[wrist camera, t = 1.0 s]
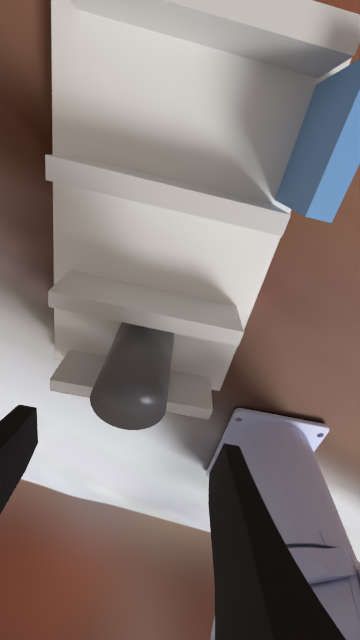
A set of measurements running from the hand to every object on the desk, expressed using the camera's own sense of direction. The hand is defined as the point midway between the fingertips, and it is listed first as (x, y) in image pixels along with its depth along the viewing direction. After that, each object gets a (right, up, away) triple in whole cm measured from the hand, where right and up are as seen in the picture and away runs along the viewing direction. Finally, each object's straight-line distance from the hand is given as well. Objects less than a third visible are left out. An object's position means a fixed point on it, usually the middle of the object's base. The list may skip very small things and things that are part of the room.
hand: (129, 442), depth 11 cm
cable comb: (+1, +9, +6) cm, 11 cm away
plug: (0, +4, +8) cm, 8 cm away
